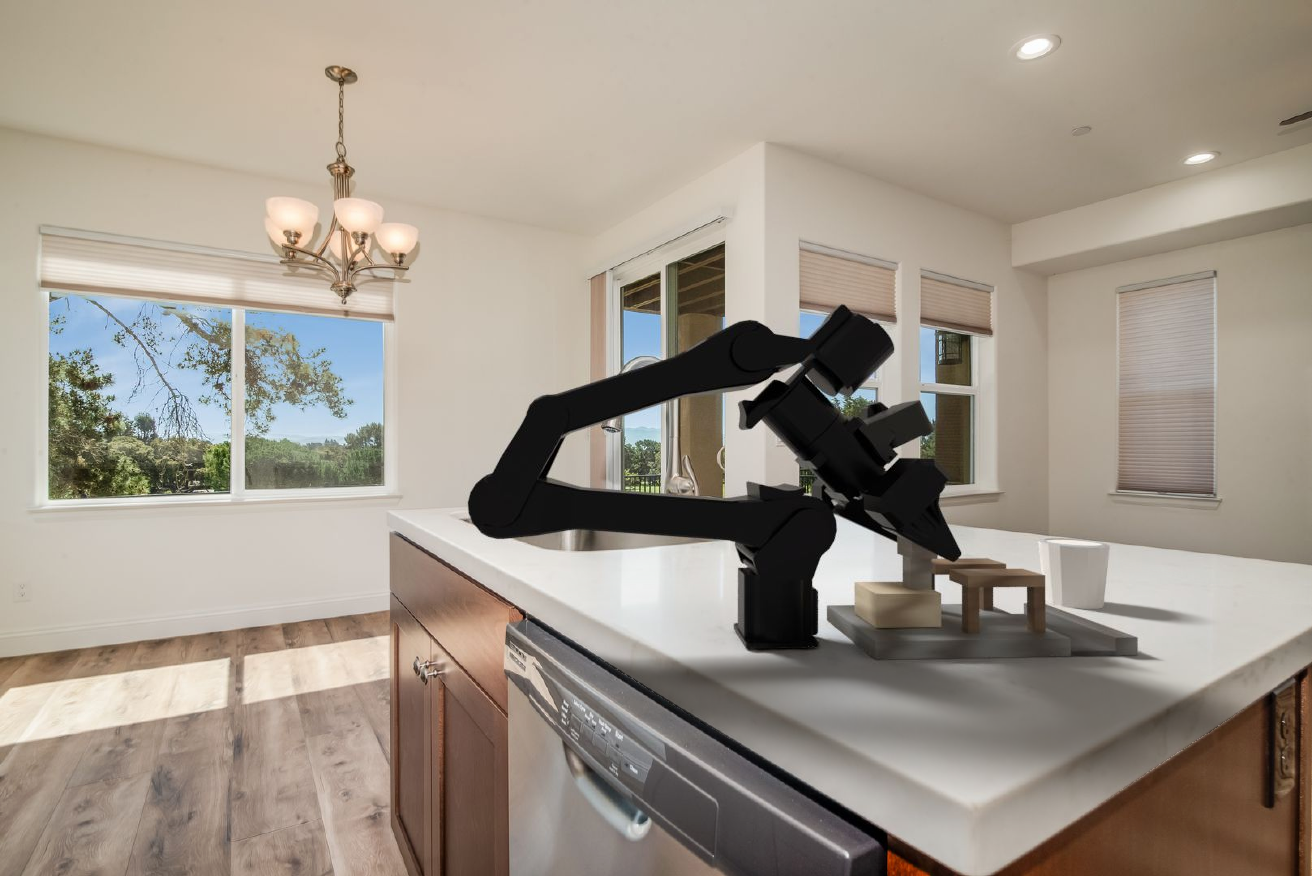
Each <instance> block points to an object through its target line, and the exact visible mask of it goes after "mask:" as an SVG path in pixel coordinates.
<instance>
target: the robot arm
mask: <svg viewBox="0 0 1312 876" xmlns="http://www.w3.org/2000/svg"><path fill="white" fill-rule="evenodd" d="M894 353H895V344H894V342H893V340H892V338H891V337H890V335H889V333H888V332H887V331H886V330H885V329H884V327H883V326H882V325H880V323H878V322H873V320H871V319H870V318H868V317H866V316H865V315H862V314H860V313H857V312H853V311H851V310H850V308H848V307H847V305H846V304H844V303H843V304H842V303H841V304H840V305H838V306H836V307H835V308H834V309H833V310H832V311H831V312H829V314H828V315H827V316H826V317H825V318H824V320H823V322H822V323H821V324H820V326H818V328H817V329H816V330H815V331H814V332H813V333H812V334H811V335H810V336H808V338H804V337H803V338H802V337H796V336H792V335H791V336H790V335H785V334H778V333H774V331H772V330H771V329H770V328H769V326H767V325H765V324H763V323H761V322H759V321H758V320H753V319H747V320H742V321H737V322H735V323H733V324H731V325H729V326H728V327H725V328H723V329H721V330H720V331H718V332H716V333H714V334H712V335H710V336H708V337H706V338H705V339H703V340H701V341H699V342H698V343H696V344H695V345H693V346H691V347H689V348H687V349H685V350H683V351H682V352H680V353H678V354H676V355H674V356H673V357H669V358H665V359H663V360H659V361H656V362H654V363H650V364H647V365H644V366H641V367H638V368H635V369H631V370H628V371H625V372H622V373H619V374H615V375H612V376H609V377H606V378H602V379H600V380H597V381H594V382H590V383H586V384H584V385H580V386H578V387H575V388H571V389H568V390H564V391H561V392H558V393H556V394H555V393H554V394H543V395H541V396H538V397H536V398H535V399H534V400H533V401H532V402H531V403H530V404H529V406H528V408H527V410H526V413H525V417H524V418H523V421H522V422H521V424H520V425H519V428H518V429H517V431H516V432H515V434H514V436H513V437H512V438H511V441H510V442H509V443H508V445H507V447H506V448H505V450H504V452H502V453H501V454H502V455H501V456H500V458H499V460H498V462H497V464H496V465H495V467H494V469H493V471H492V473H488V474H486V475H485V476H483V477H482V478H480V480H479V481H477V482H476V483H475V484H474V486H473V487H472V489H471V490H470V493H469V497H468V500H467V509H468V510H467V512H468V515H469V517H470V520H471V522H472V524H473V525H474V526H475V528H476V529H477V530H478V531H479V532H480V533H481V534H482V535H484V536H485V537H488V538H491V539H495V540H506V539H515V538H516V539H517V538H528V537H536V536H543V535H549V534H555V533H561V532H562V533H563V532H567V531H575V530H578V531H579V530H581V531H593V532H594V531H596V532H608V533H622V534H634V535H648V536H649V535H650V536H651V535H652V536H662V537H675V538H677V537H678V538H690V539H703V540H718V541H727V542H728V541H729V542H733V543H734V546H735V550H736V552H737V556H738V558H739V561H740V563H742V565H743V564H744V565H745V566H747V567H737V622H734V623H733V630H734V632H735V633H736V634H737V636H738V638H739V639H740V640H741V643H743V645H744V646H745V648H748V649H787V648H788V649H789V648H790V649H793V648H794V649H796V648H797V649H798V648H799V649H800V648H805V649H806V648H818V647H819V646H820V641H819V640H818V639H817V638H816V637H815V636H817V635H818V633H819V591H818V589H816V588H815V586H813V580H814V577H815V575H816V571H817V569H818V565H819V563H820V561H821V558H822V557H823V555H824V554H825V553H827V552H828V551H829V550H830V549H831V547H832V545H833V543H834V542H835V540H836V536H837V531H838V525H837V518H836V517H835V516H837V517H839V518H842V519H844V520H847V521H848V522H851V523H852V524H855V525H858V526H860V527H862V528H864V529H866V530H868V531H871V532H872V533H876V534H877V535H879V536H882V537H883V538H886V539H888V540H890V541H892V542H894V543H897V536H899V537H902V538H904V539H906V540H908V541H910V542H912V543H914V544H916V545H918V546H920V547H922V548H924V549H926V550H928V551H930V552H932V553H934V554H936V555H938V557H941V558H942V559H947V560H949V561H951V562H955V561H956V560H957V559H958V558H961V556H962V551H961V549H960V547H959V545H958V543H957V541H956V539H955V537H954V535H953V533H952V530H951V529H950V527H949V524H948V523H947V521H946V519H945V516H944V515H943V511H942V509H941V507H940V504H939V503H940V498H941V497H940V496H941V493H943V491H944V490H945V487H946V484H947V482H948V481H949V480H950V474H949V472H948V471H947V470H945V468H943V466H942V465H941V464H940V463H939V462H938V461H937V460H936V459H935V458H924V457H920V458H919V457H898V459H897V460H895V459H896V457H897V456H898V455H899V453H897V451H895V450H894V449H896V448H899V447H901V446H903V445H905V444H907V443H909V442H911V441H914V440H916V439H919V438H920V437H923V438H924V437H927V436H930V435H931V434H933V433H934V428H933V426H932V424H931V421H930V419H929V417H928V415H927V412H926V409H925V408H924V406H923V404H922V401H921V400H920V399H918V400H911V401H905V402H901V403H898V404H894V405H891V406H890V407H888V406H886V405H885V404H884V403H883V402H881V401H877V402H872V403H869V404H868V405H866V406H864V407H862V408H860V417H859V416H855V415H853V416H847V417H846V416H845V414H843V413H842V411H841V410H840V409H839V408H838V407H837V406H835V404H833V402H832V401H831V400H830V399H829V398H828V396H829V397H832V398H834V397H836V396H837V395H838V394H839V395H843V396H844V397H845V396H846V397H851V396H853V395H854V393H856V392H857V391H858V389H860V388H861V387H862V385H864V383H865V382H866V381H867V380H869V378H870V377H871V376H872V375H873V374H874V373H876V371H877V370H879V368H880V367H882V365H883V364H885V362H886V361H887V360H888V359H889V358H890V357H891V356H892V355H893V354H894ZM798 364H801V365H800V366H799V367H798V368H797V370H795V372H794V373H793V374H792V375H790V377H789V378H788V379H786V380H785V381H781V380H778V379H773V380H772V381H770V382H769V384H767V386H766V387H765V388H764V389H762V390H761V391H760V393H759V394H758V395H756V397H754V398H753V400H749V399H743V400H739V401H738V403H737V406H738V410H739V418H738V419H739V421H738V429H739V430H740V431H748V430H752V429H754V427H756V426H757V424H758V423H759V422H761V421H762V423H764V424H765V426H766V427H768V429H769V430H770V431H772V432H773V434H774V435H776V437H777V438H778V439H779V440H780V441H781V442H782V443H783V444H784V445H785V446H786V447H787V448H788V449H789V450H790V451H791V452H792V453H793V454H794V455H795V456H796V458H795V459H794V461H795V462H796V463H797V464H798V466H799V467H801V468H803V469H809V471H811V472H812V474H813V475H814V476H815V477H816V480H814V481H813V483H811V485H810V487H811V489H810V490H811V491H810V492H811V493H810V495H808V494H805V493H806V492H807V488H806V487H803V486H800V485H794V484H789V483H785V482H784V483H782V484H779V485H770V486H769V485H765V484H762V483H757V482H753V481H748V480H747V481H746V484H745V485H746V493H747V494H746V495H738V496H732V497H715V496H714V497H713V496H700V495H699V496H698V495H687V494H678V493H677V494H676V493H664V492H662V493H661V492H651V491H650V492H647V491H638V490H624V489H611V488H610V489H609V488H598V487H597V488H596V487H584V486H579V485H577V484H576V485H575V484H572V483H569V482H565V481H562V480H559V479H557V478H556V479H555V478H554V477H553V478H552V477H550V476H548V475H549V473H550V471H551V470H552V466H553V465H554V463H555V460H556V458H557V456H558V454H559V452H560V450H561V448H562V445H563V444H564V442H565V439H566V437H567V436H568V435H570V434H572V433H577V432H579V431H582V430H585V429H587V428H588V429H589V428H591V427H595V426H597V425H601V424H603V423H608V422H610V421H612V420H613V421H614V420H616V419H620V418H622V417H625V416H629V415H632V414H635V413H638V412H642V411H644V410H648V409H651V408H653V407H657V406H659V405H663V404H666V403H668V402H672V401H676V400H678V399H682V398H689V397H690V398H691V397H700V396H708V395H718V394H725V393H732V392H739V391H740V392H741V391H744V390H745V391H746V390H748V389H750V388H753V387H755V386H757V385H759V384H761V383H764V382H765V381H767V380H769V379H770V378H771V377H772V376H773V375H775V374H779V373H782V372H784V371H785V370H788V369H790V368H792V367H794V366H796V365H798ZM826 395H827V397H826ZM893 460H895V462H894V463H893V464H892V465H891V466H890V467H889V468H888V469H887V470H886V468H885V466H886V465H887V464H891V462H892V461H893Z"/></svg>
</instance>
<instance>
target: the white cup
mask: <svg viewBox="0 0 1312 876" xmlns="http://www.w3.org/2000/svg"><path fill="white" fill-rule="evenodd" d="M1037 542H1038V551H1039V561H1040V570H1041V574H1042V575H1045V602H1046V601H1047V602H1046V603H1049V604H1052V605H1055V606H1059V605H1060V607H1064V608H1071V609H1082V610H1097V609H1102V608H1103V607H1105V606H1104V604H1105V595H1106V584H1107V576H1108V567H1109V557H1110V547H1111V545H1109V544H1107V543H1104V542H1099V541H1094V540H1086V539H1078V538H1077V539H1076V538H1059V537H1057V538H1044V539H1042V538H1041V539H1038V540H1037Z"/></svg>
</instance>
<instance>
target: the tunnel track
mask: <svg viewBox="0 0 1312 876" xmlns="http://www.w3.org/2000/svg"><path fill="white" fill-rule="evenodd" d="M947 575H948V576H949V578H948V579H949V581H951V582H954V583H956V584H958V585H961V603H941V627H904V628H875V627H874V626H873V625H871V624H870V623H868V622H867V621H865V620H864V619H862V618H861V617H859V616H858V615H856V614H855V604H848V605H847V604H842V605H841V604H840V605H834V604H833V605H831V604H829V605H826V621H827V622H828V623H829V624H831V625H832V626H833V627H834V628H835V629H837V630H838V631H840V632H841V633H842V634H843V635H845V637H847V638H849V639H850V640H851V641H852V642H853V643H854V644H855V645H857V646H858V647H859V648H860V649H861V650H863V651H864V652H866V653H867V654H868V655H869V656H871V657H872V658H873V659H874V660H919V659H920V660H923V659H925V660H927V659H931V660H932V659H975V658H977V659H979V658H980V659H981V658H984V659H985V658H987V659H988V658H1032V657H1033V658H1039V657H1041V658H1043V657H1088V656H1089V657H1090V656H1091V657H1093V656H1094V657H1096V656H1098V657H1099V656H1101V657H1102V656H1103V657H1104V656H1105V657H1106V656H1138V655H1139V652H1138V651H1139V649H1138V648H1139V646H1138V645H1139V644H1138V641H1139V640H1138V639H1139V637H1137V636H1135V635H1132V634H1129V633H1127V632H1123V631H1121V630H1118V629H1116V628H1112V627H1110V626H1108V625H1105V624H1101V623H1099V622H1096V621H1094V620H1091V619H1088V618H1085V617H1082V616H1079V615H1077V614H1074V613H1071V612H1068V611H1066V610H1063V609H1059V608H1057V607H1055V606H1052V605H1049V604H1046V600H1045V575H1042V573H1038V572H1035V571H1032V570H1028V569H1026V568H1007V563H1005V562H1001V561H998V560H993V559H991V558H987V557H984V558H983V557H982V558H981V557H978V558H977V557H974V558H971V557H970V558H966V557H965V558H961V557H959V558H958V559H957V560H956V561H955V562H951V561H949V560H947V559H945V558H938V559H932V589H933V590H935V591H936V576H947ZM994 588H1026V602H1024V603H1023V613H1011V612H1008V611H1006V610H1004V609H1001V608H1000V607H999V608H998V607H996V606H994Z"/></svg>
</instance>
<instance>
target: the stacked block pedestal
mask: <svg viewBox="0 0 1312 876" xmlns="http://www.w3.org/2000/svg"><path fill="white" fill-rule="evenodd" d="M896 552H897V554H898V555H900V556H901V557H902V581H855V582H854V605H855V614H856V615H858V616H859V617H861V618H862V619H864V620H865V621H867V622H868V623H870V624H871V625H873V626H874V627H875V628H904V627H941V604H942V593H941V592H939V591H937V590H936V589H935V590H933V589H932V559H939V558H938V557H939V556H938V555H936V554H934V553H932V552H930V551H928V550H926V549H924V548H922V547H920V546H918V545H916V544H914V543H912V542H910V541H908V540H906V539H904V538H902V537H899V536H897V542H896Z"/></svg>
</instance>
